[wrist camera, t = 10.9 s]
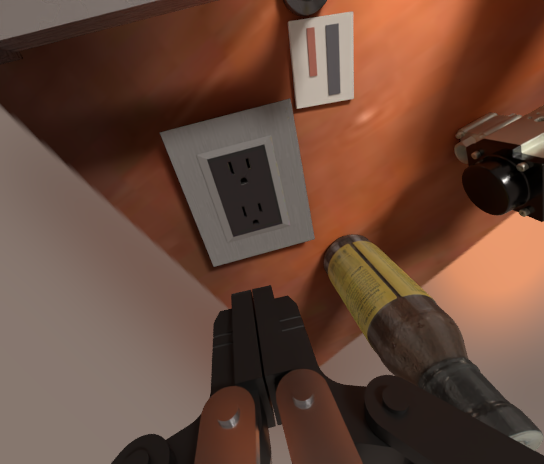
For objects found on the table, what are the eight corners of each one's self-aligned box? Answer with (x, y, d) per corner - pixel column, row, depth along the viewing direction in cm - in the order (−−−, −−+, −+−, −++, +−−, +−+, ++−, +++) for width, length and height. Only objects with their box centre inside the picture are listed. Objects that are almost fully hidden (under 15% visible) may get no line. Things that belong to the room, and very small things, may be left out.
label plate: (287, 22, 21) (288, 21, 20) (351, 12, 21) (353, 11, 21) (296, 108, 24) (297, 108, 23) (351, 98, 24) (354, 98, 24)
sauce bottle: (326, 284, 33) (441, 501, 16) (316, 241, 30) (446, 450, 13) (376, 268, 33) (548, 466, 16) (372, 223, 30) (578, 407, 13)
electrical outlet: (309, 229, 30) (315, 240, 28) (214, 256, 29) (213, 268, 27) (285, 98, 24) (291, 98, 21) (164, 129, 23) (158, 133, 21)
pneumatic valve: (530, 128, 28) (717, 151, 17) (424, 185, 29) (538, 239, 19) (529, 72, 25) (747, 60, 15) (412, 137, 26) (538, 168, 16)
